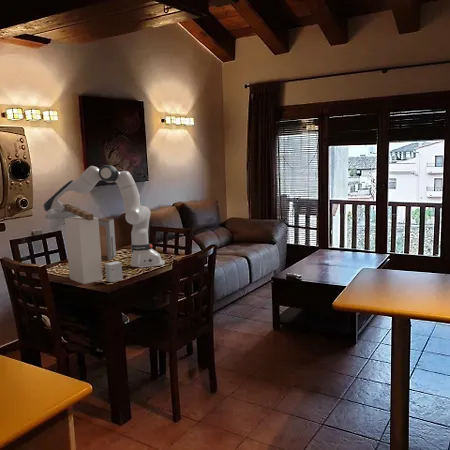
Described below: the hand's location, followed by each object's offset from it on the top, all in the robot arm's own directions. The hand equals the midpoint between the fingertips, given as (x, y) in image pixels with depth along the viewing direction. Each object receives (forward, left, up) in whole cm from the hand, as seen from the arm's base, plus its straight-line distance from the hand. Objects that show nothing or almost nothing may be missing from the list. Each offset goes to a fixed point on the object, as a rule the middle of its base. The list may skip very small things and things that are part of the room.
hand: (67, 206), depth 286 cm
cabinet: (-18, -48, -43) cm, 67 cm away
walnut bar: (-7, +10, -4) cm, 13 cm away
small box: (-26, +20, -43) cm, 54 cm away
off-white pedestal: (-9, +13, -43) cm, 46 cm away
